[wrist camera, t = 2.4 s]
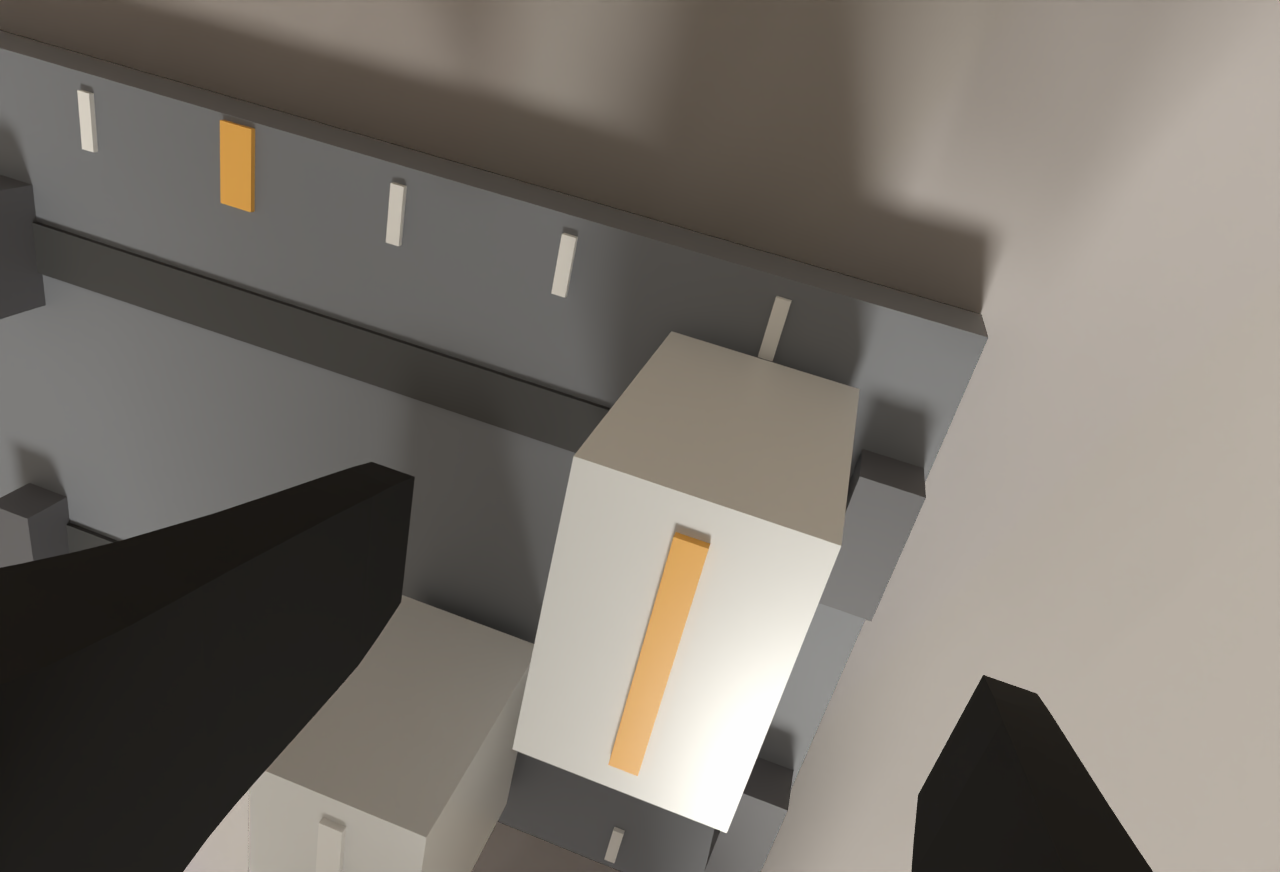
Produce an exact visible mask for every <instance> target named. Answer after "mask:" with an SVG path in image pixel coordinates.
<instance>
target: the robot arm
mask: <svg viewBox="0 0 1280 872" xmlns="http://www.w3.org/2000/svg"><path fill="white" fill-rule="evenodd" d="M414 480H415V477H414V476H411V475H409V474H406V473H403V472H400V471H397V470H394V469H391V468H388V467H386V466H383V465H380V464H377V463H374V462H369V463H365V464H362V465H358V466H354V467H351V468H348V469H345V470H342V471H339V472H335V473H332V474H329V475H326V476H323V477H320V478H318V479H315V480H312V481H309V482H306V483H303V484H300V485H297V486H294V487H291V488H288V489H285V490H283V491H280V492H277V493H274V494H271V495H268V496H265V497H262V498H259V499H256V500H253V501H250V502H247V503H244V504H241V505H238V506H235V507H232V508H229V509H226V510H223V511H220V512H216V513H213V514H210V515H207V516H203V517H200V518H196V519H193V520H190V521H186V522H183V523H179V524H176V525H172V526H169V527H166V528H162V529H159V530H155V531H152V532H149V533H145V534H142V535H138V536H135V537H132V538H128V539H125V540H121V541H117V542H113V543H109V544H105V545H101V546H97V547H93V548H89V549H85V550H81V551H77V552H72V553H68V554H63V555H58V556H54V557H49V558H44V559H40V560H35V561H31V562H26V563H21V564H17V565H11V566H6V567H1V568H0V872H183V871H184V870H185V868H186V867H187V866H188V864H189V863H190V862H191V860H192V859H193V857H194V856H195V855H196V853H197V852H198V851H199V849H200V848H201V847H202V845H203V844H204V842H205V841H206V840H207V838H208V837H209V836H210V835H211V833H212V832H213V831H214V830H215V829H216V827H217V826H218V825H219V824H220V822H221V821H222V820H223V819H224V818H225V816H226V815H227V814H228V813H229V812H230V810H231V809H232V808H233V807H234V805H235V804H236V803H237V802H238V801H239V800H240V799H241V797H242V796H243V795H244V794H245V793H246V792H247V791H248V790H249V788H250V787H251V786H252V785H253V784H254V783H255V782H256V781H257V780H258V778H259V777H260V776H261V775H262V774H263V773H264V772H265V771H266V769H267V768H268V767H269V766H270V765H271V764H272V763H273V762H274V761H275V759H276V758H277V757H278V756H279V755H280V754H281V753H282V752H283V750H284V749H285V748H286V747H287V746H288V745H289V744H290V743H291V741H292V740H293V739H294V738H295V737H296V736H297V735H298V734H299V733H300V731H301V730H302V729H303V728H304V727H305V726H306V725H307V724H308V722H309V721H310V720H311V719H312V718H313V717H314V716H315V715H316V714H317V712H318V711H319V710H320V709H321V708H322V707H323V706H324V704H325V703H326V702H327V701H328V700H329V699H330V698H331V696H332V695H333V694H334V693H335V692H336V691H337V690H338V689H339V687H340V686H341V685H342V684H343V683H344V682H345V681H346V679H347V678H348V677H349V676H350V675H351V674H352V672H353V671H354V670H355V669H356V668H357V667H358V665H359V664H360V663H361V661H362V660H363V658H364V657H365V655H366V654H367V653H368V651H369V650H370V648H371V647H372V645H373V644H374V643H375V641H376V640H377V638H378V637H379V635H380V634H381V632H382V631H383V629H384V628H385V626H386V625H387V623H388V622H389V620H390V619H391V617H392V616H393V614H394V612H395V611H396V609H397V608H398V606H399V605H400V603H401V600H402V591H403V581H404V572H405V563H406V554H407V544H408V535H409V526H410V517H411V508H412V498H413V489H414ZM912 872H1153V871H1152V869H1151V868H1150V867H1149V865H1148V864H1147V862H1146V861H1145V859H1144V858H1143V856H1142V855H1141V853H1140V852H1139V850H1138V849H1137V847H1136V846H1135V844H1134V843H1133V841H1132V840H1131V838H1130V837H1129V835H1128V834H1127V832H1126V831H1125V829H1124V828H1123V826H1122V825H1121V823H1120V822H1119V820H1118V819H1117V817H1116V815H1115V814H1114V812H1113V811H1112V809H1111V808H1110V806H1109V805H1108V803H1107V802H1106V800H1105V798H1104V797H1103V795H1102V794H1101V792H1100V791H1099V789H1098V787H1097V786H1096V784H1095V783H1094V781H1093V780H1092V778H1091V776H1090V775H1089V773H1088V772H1087V770H1086V769H1085V767H1084V765H1083V764H1082V762H1081V761H1080V759H1079V757H1078V756H1077V754H1076V753H1075V751H1074V750H1073V748H1072V746H1071V745H1070V743H1069V742H1068V740H1067V738H1066V737H1065V735H1064V734H1063V732H1062V731H1061V729H1060V727H1059V726H1058V724H1057V723H1056V721H1055V720H1054V718H1053V717H1052V715H1051V714H1050V712H1049V710H1048V709H1047V707H1046V706H1045V705H1044V703H1043V702H1042V700H1041V699H1040V697H1039V696H1038V694H1036V693H1033V692H1030V691H1028V690H1025V689H1022V688H1019V687H1016V686H1013V685H1010V684H1008V683H1005V682H1002V681H999V680H996V679H993V678H990V677H987V676H985V675H983V676H982V678H981V680H980V682H979V684H978V686H977V688H976V689H975V691H974V693H973V695H972V697H971V699H970V700H969V702H968V704H967V706H966V708H965V710H964V712H963V713H962V715H961V717H960V719H959V721H958V723H957V724H956V726H955V728H954V730H953V732H952V734H951V735H950V737H949V739H948V741H947V743H946V745H945V747H944V748H943V750H942V752H941V754H940V756H939V758H938V759H937V761H936V763H935V765H934V767H933V769H932V771H931V772H930V774H929V776H928V778H927V780H926V782H925V783H924V785H923V787H922V789H921V791H920V793H919V794H918V803H917V813H916V824H915V834H914V845H913V859H912Z"/></svg>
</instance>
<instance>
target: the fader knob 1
mask: <svg viewBox="0 0 1280 872" xmlns="http://www.w3.org/2000/svg"><path fill="white" fill-rule="evenodd" d="M533 648H534V644H533V643H530V642H527V641H525V640H522V639H519V638H517V637H514V636H511V635H509V634H506V633H503V632H500V631H498V630H495V629H492V628H490V627H487V626H484V625H482V624H479V623H476V622H474V621H471V620H468V619H465V618H463V617H460V616H457V615H455V614H452V613H449V612H447V611H444V610H441V609H438V608H436V607H433V606H430V605H428V604H425V603H422V602H420V601H417V600H414V599H412V598H409V597H406V596H403V595H402V600H401V603H400V605H399V606H398V608H397V609H396V611H395V612H394V614H393V616H392V617H391V619H390V620H389V622H388V623H387V625H386V626H385V628H384V629H383V631H382V632H381V634H380V635H379V637H378V638H377V640H376V641H375V643H374V644H373V645H372V647H371V648H370V650H369V651H368V653H367V654H366V655H365V657H364V658H363V660H362V661H361V663H360V664H359V665H358V667H357V668H356V669H355V670H354V671H353V672H352V674H351V675H350V676H349V677H348V678H347V679H346V681H345V682H344V683H343V684H342V685H341V686H340V687H339V689H338V690H337V691H336V692H335V693H334V694H333V695H332V696H331V698H330V699H329V700H328V701H327V702H326V703H325V704H324V706H323V707H322V708H321V709H320V710H319V711H318V712H317V714H316V715H315V716H314V717H313V718H312V719H311V720H310V721H309V722H308V724H307V725H306V726H305V727H304V728H303V729H302V730H301V731H300V733H299V734H298V735H297V736H296V737H295V738H294V739H293V740H292V741H291V743H290V744H289V745H288V746H287V747H286V748H285V749H284V750H283V752H282V753H281V754H280V755H279V756H278V757H277V758H276V759H275V761H274V762H273V763H272V764H271V765H270V766H269V767H268V768H267V769H266V771H265V772H264V773H263V774H262V775H261V776H260V777H259V778H258V780H257V781H256V782H255V783H254V784H253V785H252V786H251V787H250V788H249V818H248V872H472V870H473V868H474V866H475V864H476V862H477V860H478V858H479V856H480V854H481V852H482V850H483V848H484V846H485V845H486V843H487V841H488V839H489V837H490V835H491V833H492V831H493V829H494V827H495V825H496V823H497V821H498V819H499V817H500V815H501V813H502V812H503V810H504V808H505V806H506V804H507V799H508V795H509V790H510V785H511V781H512V776H513V771H514V766H515V762H516V757H517V752H518V751H516V750H513V749H512V748H513V743H514V739H515V734H516V729H517V724H518V719H519V715H520V710H521V705H522V700H523V696H524V691H525V686H526V681H527V676H528V672H529V667H530V662H531V657H532V653H533Z"/></svg>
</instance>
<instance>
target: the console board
mask: <svg viewBox="0 0 1280 872" xmlns="http://www.w3.org/2000/svg"><path fill="white" fill-rule="evenodd" d="M671 331H672V332H676V333H679V334H682V335H685V336H689V337H692V338H695V339H698V340H702V341H705V342H708V343H711V344H715V345H718V346H721V347H724V348H728V349H731V350H734V351H737V352H741V353H744V354H747V355H750V356H754V357H757V358H760V359H763V360H767V361H770V362H773V363H776V364H780V365H783V366H786V367H789V368H793V369H796V370H799V371H802V372H806V373H809V374H812V375H815V376H819V377H822V378H825V379H828V380H832V381H835V382H838V383H841V384H845V385H848V386H851V387H854V388H857V389H860V390H859V399H858V408H857V416H856V425H855V433H854V442H853V451H852V459H851V468H850V476H849V485H848V494H847V502H846V511H845V520H844V528H843V537H842V545H841V548H840V551H839V553H838V556H837V558H836V561H835V563H834V566H833V568H832V571H831V573H830V576H829V578H828V581H827V583H826V586H825V588H824V591H823V593H822V596H821V598H820V601H819V603H818V606H817V608H816V611H815V613H814V616H813V618H812V621H811V623H810V626H809V628H808V631H807V633H806V636H805V638H804V641H803V643H802V646H801V648H800V651H799V653H798V656H797V658H796V661H795V663H794V666H793V668H792V671H791V673H790V676H789V679H788V681H787V684H786V686H785V689H784V691H783V694H782V696H781V699H780V701H779V704H778V706H777V709H776V711H775V714H774V716H773V719H772V721H771V724H770V726H769V729H768V731H767V734H766V736H765V739H764V741H763V744H762V746H761V749H760V751H759V754H758V756H757V759H756V761H755V764H754V766H753V769H752V771H751V774H750V776H749V779H748V781H747V784H746V786H745V789H744V791H743V794H742V796H741V799H740V801H739V804H738V806H737V809H736V811H735V814H734V816H733V819H732V821H731V824H730V826H729V829H728V831H727V833H725V832H722V831H720V830H717V829H715V828H712V827H710V826H707V825H705V824H702V823H699V822H697V821H694V820H692V819H689V818H687V817H684V816H682V815H679V814H676V813H674V812H671V811H669V810H666V809H664V808H661V807H659V806H656V805H653V804H651V803H648V802H646V801H643V800H641V799H638V798H636V797H633V796H630V795H628V794H625V793H623V792H620V791H618V790H615V789H613V788H610V787H607V786H605V785H602V784H600V783H597V782H595V781H592V780H590V779H587V778H584V777H582V776H579V775H577V774H574V773H572V772H569V771H567V770H564V769H561V768H559V767H556V766H554V765H551V764H549V763H546V762H544V761H541V760H538V759H536V758H533V757H531V756H528V755H526V754H523V753H521V752H517V757H516V762H515V766H514V771H513V776H512V781H511V785H510V790H509V795H508V799H507V804H506V806H505V808H504V810H503V812H502V813H501V815H500V817H499V819H498V822H500V823H502V824H505V825H507V826H510V827H512V828H515V829H517V830H520V831H522V832H525V833H527V834H530V835H532V836H535V837H537V838H539V839H542V840H544V841H547V842H549V843H552V844H554V845H557V846H559V847H562V848H564V849H567V850H569V851H572V852H574V853H576V854H579V855H581V856H584V857H586V858H589V859H591V860H594V861H596V862H599V863H601V864H604V865H606V866H609V867H611V868H613V869H616V870H618V871H621V872H761V870H762V868H763V866H764V863H765V861H766V859H767V856H768V854H769V852H770V850H771V847H772V845H773V843H774V841H775V838H776V836H777V834H778V832H779V829H780V827H781V825H782V822H783V820H784V818H785V816H786V813H787V811H788V806H789V799H790V792H791V789H792V786H793V784H794V782H795V779H796V777H797V775H798V772H799V770H800V768H801V766H802V763H803V761H804V759H805V756H806V754H807V752H808V750H809V747H810V745H811V743H812V740H813V738H814V736H815V734H816V731H817V729H818V727H819V724H820V722H821V720H822V717H823V715H824V713H825V711H826V708H827V706H828V704H829V701H830V699H831V697H832V695H833V692H834V690H835V688H836V685H837V683H838V681H839V678H840V676H841V674H842V672H843V669H844V667H845V665H846V662H847V660H848V658H849V656H850V653H851V651H852V649H853V646H854V644H855V642H856V640H857V637H858V635H859V633H860V630H861V628H862V626H863V623H864V621H865V619H866V620H869V621H872V618H873V616H874V614H875V612H876V609H877V607H878V605H879V602H880V600H881V598H882V596H883V593H884V591H885V589H886V587H887V584H888V582H889V580H890V578H891V575H892V573H893V571H894V568H895V566H896V564H897V562H898V559H899V557H900V555H901V553H902V550H903V548H904V546H905V543H906V541H907V539H908V537H909V534H910V532H911V530H912V528H913V525H914V523H915V521H916V519H917V516H918V514H919V512H920V509H921V507H922V505H923V503H924V500H925V498H926V494H925V481H926V479H927V477H928V474H929V472H930V470H931V468H932V465H933V463H934V461H935V458H936V456H937V454H938V452H939V449H940V447H941V445H942V442H943V440H944V438H945V435H946V433H947V431H948V429H949V426H950V424H951V422H952V419H953V417H954V415H955V413H956V410H957V408H958V406H959V403H960V401H961V399H962V397H963V394H964V392H965V390H966V387H967V385H968V383H969V380H970V378H971V376H972V374H973V371H974V369H975V367H976V364H977V362H978V360H979V358H980V355H981V353H982V351H983V348H984V346H985V344H986V341H987V339H988V335H987V332H986V328H985V325H984V321H983V318H982V315H981V314H978V313H974V312H971V311H967V310H964V309H961V308H957V307H954V306H950V305H947V304H943V303H940V302H936V301H933V300H930V299H926V298H923V297H919V296H916V295H912V294H909V293H905V292H902V291H898V290H895V289H892V288H888V287H885V286H881V285H878V284H874V283H871V282H867V281H864V280H860V279H857V278H854V277H850V276H847V275H843V274H840V273H836V272H833V271H829V270H826V269H822V268H819V267H816V266H812V265H809V264H805V263H802V262H798V261H795V260H791V259H788V258H784V257H781V256H778V255H774V254H771V253H767V252H764V251H760V250H757V249H753V248H750V247H746V246H743V245H740V244H736V243H733V242H729V241H726V240H722V239H719V238H715V237H712V236H708V235H705V234H702V233H698V232H695V231H691V230H688V229H684V228H681V227H677V226H674V225H670V224H667V223H664V222H660V221H657V220H653V219H650V218H646V217H643V216H639V215H636V214H633V213H629V212H626V211H622V210H619V209H615V208H612V207H608V206H605V205H601V204H598V203H595V202H591V201H588V200H584V199H581V198H577V197H574V196H570V195H567V194H563V193H560V192H557V191H553V190H550V189H546V188H543V187H539V186H536V185H532V184H529V183H525V182H522V181H519V180H515V179H512V178H508V177H505V176H501V175H498V174H494V173H491V172H487V171H484V170H481V169H477V168H474V167H470V166H467V165H463V164H460V163H456V162H453V161H449V160H446V159H443V158H439V157H436V156H432V155H429V154H425V153H422V152H418V151H415V150H411V149H408V148H405V147H401V146H398V145H394V144H391V143H387V142H384V141H380V140H377V139H373V138H370V137H367V136H363V135H360V134H356V133H353V132H349V131H346V130H342V129H339V128H335V127H332V126H329V125H325V124H322V123H318V122H315V121H311V120H308V119H304V118H301V117H298V116H294V115H291V114H287V113H284V112H280V111H277V110H273V109H270V108H266V107H263V106H260V105H256V104H253V103H249V102H246V101H242V100H239V99H235V98H232V97H228V96H225V95H222V94H218V93H215V92H211V91H208V90H204V89H201V88H197V87H194V86H190V85H187V84H184V83H180V82H177V81H173V80H170V79H166V78H163V77H159V76H156V75H152V74H149V73H146V72H142V71H139V70H135V69H132V68H128V67H125V66H121V65H118V64H114V63H111V62H108V61H104V60H101V59H97V58H94V57H90V56H87V55H83V54H80V53H76V52H73V51H70V50H66V49H63V48H59V47H56V46H52V45H49V44H45V43H42V42H38V41H35V40H32V39H28V38H25V37H21V36H18V35H14V34H11V33H7V32H4V31H0V568H1V567H6V566H11V565H17V564H21V563H26V562H31V561H35V560H40V559H44V558H49V557H54V556H58V555H63V554H68V553H72V552H77V551H81V550H85V549H89V548H93V547H97V546H101V545H105V544H109V543H113V542H117V541H121V540H125V539H128V538H132V537H135V536H138V535H142V534H145V533H149V532H152V531H155V530H159V529H162V528H166V527H169V526H172V525H176V524H179V523H183V522H186V521H190V520H193V519H196V518H200V517H203V516H207V515H210V514H213V513H216V512H220V511H223V510H226V509H229V508H232V507H235V506H238V505H241V504H244V503H247V502H250V501H253V500H256V499H259V498H262V497H265V496H268V495H271V494H274V493H277V492H280V491H283V490H285V489H288V488H291V487H294V486H297V485H300V484H303V483H306V482H309V481H312V480H315V479H318V478H320V477H323V476H326V475H329V474H332V473H335V472H339V471H342V470H345V469H348V468H351V467H354V466H358V465H362V464H365V463H369V462H374V463H377V464H380V465H383V466H386V467H388V468H391V469H394V470H397V471H400V472H403V473H406V474H409V475H411V476H414V477H415V480H414V489H413V498H412V508H411V517H410V526H409V535H408V544H407V554H406V563H405V572H404V581H403V591H402V595H403V596H406V597H409V598H412V599H414V600H417V601H420V602H422V603H425V604H428V605H430V606H433V607H436V608H438V609H441V610H444V611H447V612H449V613H452V614H455V615H457V616H460V617H463V618H465V619H468V620H471V621H474V622H476V623H479V624H482V625H484V626H487V627H490V628H492V629H495V630H498V631H500V632H503V633H506V634H509V635H511V636H514V637H517V638H519V639H522V640H525V641H527V642H530V643H533V644H534V643H535V638H536V633H537V629H538V624H539V619H540V614H541V609H542V605H543V600H544V595H545V590H546V586H547V581H548V576H549V571H550V566H551V562H552V557H553V552H554V547H555V543H556V538H557V533H558V528H559V523H560V519H561V514H562V509H563V504H564V500H565V495H566V490H567V485H568V480H569V476H570V471H571V466H572V461H573V456H574V455H575V454H576V452H577V451H578V450H579V448H580V447H581V446H582V445H583V443H584V442H585V441H586V440H587V438H588V437H589V436H590V434H591V433H592V432H593V431H594V429H595V428H596V427H597V426H598V424H599V423H600V422H601V420H602V419H603V418H604V417H605V415H606V414H607V413H608V412H609V410H610V409H611V408H612V406H613V405H614V404H615V403H616V401H617V400H618V399H619V398H620V396H621V395H622V394H623V392H624V391H625V390H626V389H627V387H628V386H629V385H630V384H631V382H632V381H633V380H634V378H635V377H636V376H637V375H638V373H639V372H640V371H641V369H642V368H643V367H644V366H645V364H646V363H647V362H648V361H649V359H650V358H651V357H652V355H653V354H654V353H655V352H656V350H657V349H658V348H659V347H660V345H661V344H662V343H663V341H664V340H665V339H666V338H667V336H668V335H669V334H670V333H671Z"/></svg>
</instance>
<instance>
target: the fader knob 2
mask: <svg viewBox="0 0 1280 872" xmlns="http://www.w3.org/2000/svg"><path fill="white" fill-rule="evenodd" d="M859 390H860V389H857V388H854V387H851V386H848V385H845V384H841V383H838V382H835V381H832V380H828V379H825V378H822V377H819V376H815V375H812V374H809V373H806V372H802V371H799V370H796V369H793V368H789V367H786V366H783V365H780V364H776V363H773V362H770V361H767V360H763V359H760V358H757V357H754V356H750V355H747V354H744V353H741V352H737V351H734V350H731V349H728V348H724V347H721V346H718V345H715V344H711V343H708V342H705V341H702V340H698V339H695V338H692V337H689V336H685V335H682V334H679V333H676V332H672V331H671V333H670V334H669V335H668V336H667V338H666V339H665V340H664V341H663V343H662V344H661V345H660V347H659V348H658V349H657V350H656V352H655V353H654V354H653V355H652V357H651V358H650V359H649V361H648V362H647V363H646V364H645V366H644V367H643V368H642V369H641V371H640V372H639V373H638V375H637V376H636V377H635V378H634V380H633V381H632V382H631V384H630V385H629V386H628V387H627V389H626V390H625V391H624V392H623V394H622V395H621V396H620V398H619V399H618V400H617V401H616V403H615V404H614V405H613V406H612V408H611V409H610V410H609V412H608V413H607V414H606V415H605V417H604V418H603V419H602V420H601V422H600V423H599V424H598V426H597V427H596V428H595V429H594V431H593V432H592V433H591V434H590V436H589V437H588V438H587V440H586V441H585V442H584V443H583V445H582V446H581V447H580V448H579V450H578V451H577V452H576V454H575V455H574V456H573V461H572V466H571V471H570V476H569V480H568V485H567V490H566V495H565V500H564V504H563V509H562V514H561V519H560V523H559V528H558V533H557V538H556V543H555V547H554V552H553V557H552V562H551V566H550V571H549V576H548V581H547V586H546V590H545V595H544V600H543V605H542V609H541V614H540V619H539V624H538V629H537V633H536V638H535V643H534V648H533V653H532V657H531V662H530V667H529V672H528V676H527V681H526V686H525V691H524V696H523V700H522V705H521V710H520V715H519V719H518V724H517V729H516V734H515V739H514V743H513V748H512V749H513V750H516V751H518V752H521V753H523V754H526V755H528V756H531V757H533V758H536V759H538V760H541V761H544V762H546V763H549V764H551V765H554V766H556V767H559V768H561V769H564V770H567V771H569V772H572V773H574V774H577V775H579V776H582V777H584V778H587V779H590V780H592V781H595V782H597V783H600V784H602V785H605V786H607V787H610V788H613V789H615V790H618V791H620V792H623V793H625V794H628V795H630V796H633V797H636V798H638V799H641V800H643V801H646V802H648V803H651V804H653V805H656V806H659V807H661V808H664V809H666V810H669V811H671V812H674V813H676V814H679V815H682V816H684V817H687V818H689V819H692V820H694V821H697V822H699V823H702V824H705V825H707V826H710V827H712V828H715V829H717V830H720V831H722V832H725V833H727V831H728V829H729V826H730V824H731V821H732V819H733V816H734V814H735V811H736V809H737V806H738V804H739V801H740V799H741V796H742V794H743V791H744V789H745V786H746V784H747V781H748V779H749V776H750V774H751V771H752V769H753V766H754V764H755V761H756V759H757V756H758V754H759V751H760V749H761V746H762V744H763V741H764V739H765V736H766V734H767V731H768V729H769V726H770V724H771V721H772V719H773V716H774V714H775V711H776V709H777V706H778V704H779V701H780V699H781V696H782V694H783V691H784V689H785V686H786V684H787V681H788V679H789V676H790V673H791V671H792V668H793V666H794V663H795V661H796V658H797V656H798V653H799V651H800V648H801V646H802V643H803V641H804V638H805V636H806V633H807V631H808V628H809V626H810V623H811V621H812V618H813V616H814V613H815V611H816V608H817V606H818V603H819V601H820V598H821V596H822V593H823V591H824V588H825V586H826V583H827V581H828V578H829V576H830V573H831V571H832V568H833V566H834V563H835V561H836V558H837V556H838V553H839V551H840V548H841V545H842V537H843V528H844V520H845V511H846V502H847V494H848V485H849V476H850V468H851V459H852V451H853V442H854V433H855V425H856V416H857V408H858V399H859Z"/></svg>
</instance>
